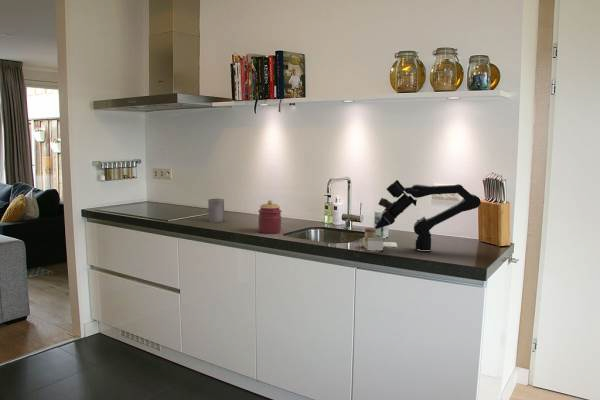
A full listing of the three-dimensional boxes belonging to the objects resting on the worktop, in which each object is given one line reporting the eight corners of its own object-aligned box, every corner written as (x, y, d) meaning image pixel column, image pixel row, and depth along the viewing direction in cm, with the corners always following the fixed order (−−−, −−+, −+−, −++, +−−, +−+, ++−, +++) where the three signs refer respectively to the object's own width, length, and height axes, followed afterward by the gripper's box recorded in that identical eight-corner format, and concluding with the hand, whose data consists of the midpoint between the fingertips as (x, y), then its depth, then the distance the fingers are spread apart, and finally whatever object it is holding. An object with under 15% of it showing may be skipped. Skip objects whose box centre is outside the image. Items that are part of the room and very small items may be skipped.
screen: (382, 250, 215) (383, 238, 214) (383, 251, 213) (383, 239, 212) (367, 250, 216) (367, 237, 215) (367, 251, 214) (367, 238, 213)
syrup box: (373, 237, 245) (374, 210, 243) (379, 236, 249) (380, 209, 247) (382, 239, 241) (383, 211, 239) (388, 237, 245) (389, 210, 243)
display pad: (396, 244, 229) (396, 242, 229) (397, 248, 220) (397, 246, 220) (377, 243, 230) (377, 241, 230) (378, 247, 221) (378, 245, 221)
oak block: (374, 246, 224) (375, 228, 223) (374, 248, 219) (375, 229, 218) (364, 245, 225) (364, 227, 224) (364, 248, 220) (364, 229, 219)
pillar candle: (213, 219, 296) (213, 196, 294) (227, 220, 293) (226, 197, 291) (205, 222, 287) (205, 198, 285) (219, 223, 284) (218, 198, 282)
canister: (284, 230, 262) (284, 199, 260) (277, 234, 250) (277, 202, 248) (262, 229, 266) (262, 198, 263) (254, 233, 253) (254, 201, 251)
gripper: (389, 190, 226) (366, 211, 230) (388, 194, 208) (362, 217, 212) (405, 207, 225) (381, 228, 229) (405, 212, 207) (379, 235, 211)
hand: (376, 226), depth 220 cm, fingers open, 9 cm apart
